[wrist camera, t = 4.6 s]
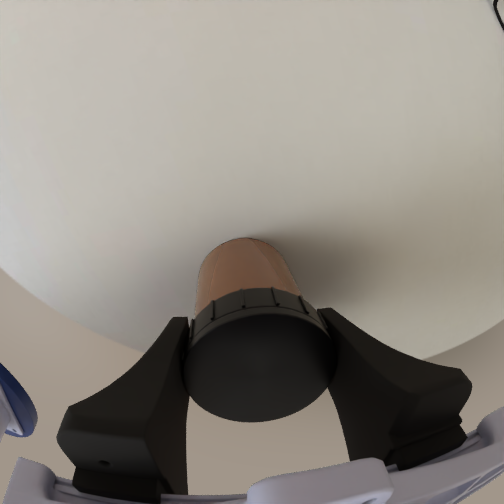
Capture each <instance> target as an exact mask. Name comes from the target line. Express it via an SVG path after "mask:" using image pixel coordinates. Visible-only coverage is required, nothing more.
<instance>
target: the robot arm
mask: <svg viewBox="0 0 504 504" xmlns="http://www.w3.org/2000/svg"><path fill="white" fill-rule="evenodd" d="M318 311H319V312H320V314H321V316H322V318H323V320H324V322H325V323H326V325H327V327H328V329H329V330H327V332H328V334H329V336H330V338H331V340H332V342H333V344H334V346H335V350H336V354H337V364H336V370H335V373H334V376H333V378H332V380H331V382H330V384H329V385H328V390H329V392H330V394H331V396H332V399H333V401H334V404H335V406H336V409H337V412H338V415H339V419H340V422H341V425H342V429H343V433H344V437H345V441H346V445H347V449H348V454H349V459H350V462H346V463H342V464H338V465H333V466H328V467H323V468H318V469H313V470H307V471H301V472H294V473H287V474H281V475H277V476H272V477H268V478H265V479H263V480H261V481H258V482H256V483H254V484H253V485H252V486H251V487H250V489H249V490H248V491H247V494H235V495H188V485H187V463H186V420H187V410H188V403H189V396H190V395H189V394H188V392H187V390H186V388H185V385H184V382H183V375H182V370H183V362H182V357H183V353H184V349H185V342H186V336H187V333H188V330H189V324H188V317H173V318H172V319H171V320H170V321H169V323H168V324H167V326H166V327H165V329H164V330H163V332H162V333H161V334H160V336H159V337H158V338H157V340H156V341H155V342H154V343H153V345H152V346H151V347H150V348H149V350H148V351H147V352H146V353H145V354H144V355H143V356H142V358H141V359H140V360H139V361H138V362H137V363H136V364H135V365H134V366H133V367H132V368H131V369H129V370H128V371H127V372H126V373H125V374H124V375H122V376H121V377H120V378H118V379H117V380H116V381H114V382H113V383H112V384H110V385H109V386H108V387H106V388H104V389H103V390H101V391H99V392H98V393H96V394H94V395H92V396H90V397H88V398H87V399H84V400H82V401H80V402H78V403H76V404H74V405H71V406H69V407H68V409H67V411H66V413H65V415H64V418H63V420H62V423H61V426H60V428H59V431H58V434H57V442H58V444H59V446H60V447H61V449H62V450H63V452H64V453H65V454H66V455H67V457H68V458H69V459H70V460H71V462H72V463H73V464H74V465H75V466H76V469H75V473H74V476H73V480H69V479H65V478H61V477H57V476H56V475H55V474H54V473H53V471H51V469H50V468H48V467H47V466H45V465H43V464H41V463H38V462H35V461H31V460H28V459H25V458H22V457H18V460H17V462H16V465H15V468H14V471H13V473H12V476H11V479H10V482H9V485H8V488H7V491H6V494H5V497H4V500H3V504H457V503H459V502H460V501H462V500H464V499H465V498H467V497H468V496H470V495H472V494H473V493H474V492H476V491H478V490H479V489H481V488H482V487H484V486H485V485H487V484H488V483H490V482H491V481H493V480H494V479H496V478H497V477H499V476H500V475H501V474H502V473H503V472H504V407H501V408H499V409H497V410H496V411H494V412H492V413H490V414H489V415H487V416H486V417H485V418H483V420H482V421H481V422H480V423H479V425H478V426H477V429H476V430H473V431H471V432H469V433H468V434H465V432H464V431H463V429H462V428H461V426H460V424H461V422H462V419H461V417H460V416H459V413H460V411H461V410H462V408H463V407H464V405H465V403H466V402H467V400H468V398H469V396H470V394H471V390H472V383H471V381H470V380H469V379H468V378H467V376H466V375H465V374H464V373H463V372H462V370H461V369H458V368H453V367H447V366H441V365H437V364H433V363H430V362H426V361H423V360H420V359H417V358H414V357H412V356H409V355H406V354H404V353H402V352H399V351H397V350H395V349H393V348H391V347H389V346H387V345H385V344H383V343H382V342H380V341H378V340H377V339H375V338H373V337H372V336H370V335H368V334H367V333H365V332H364V331H362V330H361V329H360V328H358V327H357V326H355V325H354V324H353V323H351V322H350V321H349V320H347V319H346V318H344V317H343V316H342V315H340V314H339V313H338V312H336V311H335V310H333V309H332V308H322V309H317V312H318ZM6 429H7V430H10V431H12V432H14V433H17V434H19V435H23V433H24V431H23V429H22V427H21V426H20V424H19V422H18V420H17V418H16V416H15V414H14V412H13V410H12V408H11V406H10V404H9V402H8V399H7V397H6V395H5V393H4V390H3V388H2V386H1V384H0V442H1V439H2V437H3V435H4V433H5V431H6Z"/></svg>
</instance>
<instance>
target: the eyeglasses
mask: <svg viewBox="0 0 504 504" xmlns="http://www.w3.org/2000/svg"><path fill="white" fill-rule="evenodd" d="M497 2H498V0H494V1H493V6H494V10H495V12H496V15H497V17H498V20H499V22H500V24H501V26H502V28H503V30H504V24H503V22H502V20H501V17H500V15H499V13H498V10H497Z"/></svg>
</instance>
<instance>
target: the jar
mask: <svg viewBox="0 0 504 504" xmlns="http://www.w3.org/2000/svg"><path fill="white" fill-rule="evenodd" d="M271 287H274V288H275V289H279V290H284V291H287V292H290V293H292V294H295V295H297V296H299V295H301V293H300V291H299V289H298V287H297V285H296V283H295V281H294V279H293V277H292V274H291V272H290V270H289V268H288V266H287V264H286V262H285V260H284V259H283V257H282V256H281V254H280V253H279V252H278V251H277V250H276V249H275V248H273V247H272V246H270V245H269V244H267V243H265V242H262V241H259V240H255V239H247V238H244V239H235V240H231V241H228V242H225V243H223V244H221V245H220V246H218V247H216V248H215V249H214V250H213V251H211V253H210V254H209V255H208V256H207V257H206V259H205V260H204V262H203V264H202V266H201V268H200V272H199V278H198V287H197V297H196V306H195V317H196V316H197V315H198V314H199V313H200V312H201V311H202V310H203V309H204V308H205V307H206V306H207V305H209V304H210V303H211V300H214V301H215V300H216V299H218V298H220V297H222V296H224V295H226V294H229V293H232V292H235V291H238V290H239V289H240V288H242V289H248V288H271ZM301 296H302V295H301ZM302 298H303V297H302ZM195 317H194V319H195Z"/></svg>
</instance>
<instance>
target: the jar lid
mask: <svg viewBox="0 0 504 504" xmlns="http://www.w3.org/2000/svg"><path fill="white" fill-rule="evenodd" d="M327 330H329V329H328V327H327V325H326V323H325V322H324V320H323V318H322V316H321V314H320V312H319V311H318V312H316V310H315V309H314V308H313V307H312V306H311V305H310V304H309V303H308V302H306V301H305V300H304V299H303V298H302V296H301V295H299V296H297V295H295V294H292V293H290V292H287V291H284V290H279V289H275V288H274V287H271V288H248V289H242V288H240V289H239V290H238V291H235V292H232V293H229V294H226V295H224V296H222V297H220V298H218V299H216V300H215V301H214V300H211V303H210V304H209V305H207V306H206V307H205V308H204V309H203V310H202V311H201V312H200V313H199V314H198V315H197V316H196V317H195V319H192V320H191V325H190V328H189V330H188V333H187V336H186V342H185V349H184V353H183V357H182V362H183V370H182V375H183V382H184V385H185V388H186V390H187V392H188V394H189V395H190V396H191V397H192V399H193V400H194V401H195V402H196V403H197V404H198V405H199V406H200V407H202V408H203V409H204V410H206V411H208V412H210V413H211V414H214V415H216V416H218V417H221V418H224V419H228V420H232V421H238V422H264V421H271V420H276V419H280V418H283V417H286V416H289V415H291V414H293V413H296V412H298V411H300V410H302V409H303V408H305V407H307V406H308V405H309V404H311V403H312V402H314V401H315V400H316V399H317V398H318V397H319V396H320V395H321V394H322V393H323V392H324V391H325V390H326V388H327V387H328V385H329V384H330V382H331V380H332V378H333V376H334V373H335V370H336V364H337V354H336V350H335V346H334V344H333V342H332V340H331V338H330V336H329V334H328V332H327Z"/></svg>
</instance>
